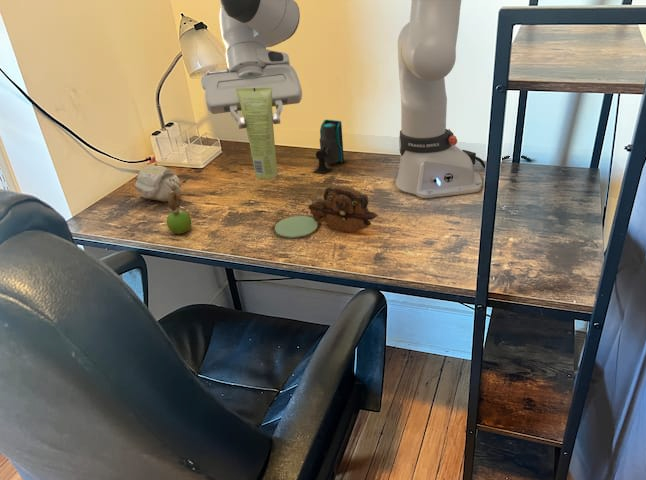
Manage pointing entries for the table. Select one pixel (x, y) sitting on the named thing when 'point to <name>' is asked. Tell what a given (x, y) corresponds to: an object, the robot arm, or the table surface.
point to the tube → (259, 129)
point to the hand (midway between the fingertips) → (260, 125)
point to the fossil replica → (156, 182)
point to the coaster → (296, 226)
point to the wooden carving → (343, 209)
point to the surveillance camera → (330, 145)
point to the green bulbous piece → (177, 213)
